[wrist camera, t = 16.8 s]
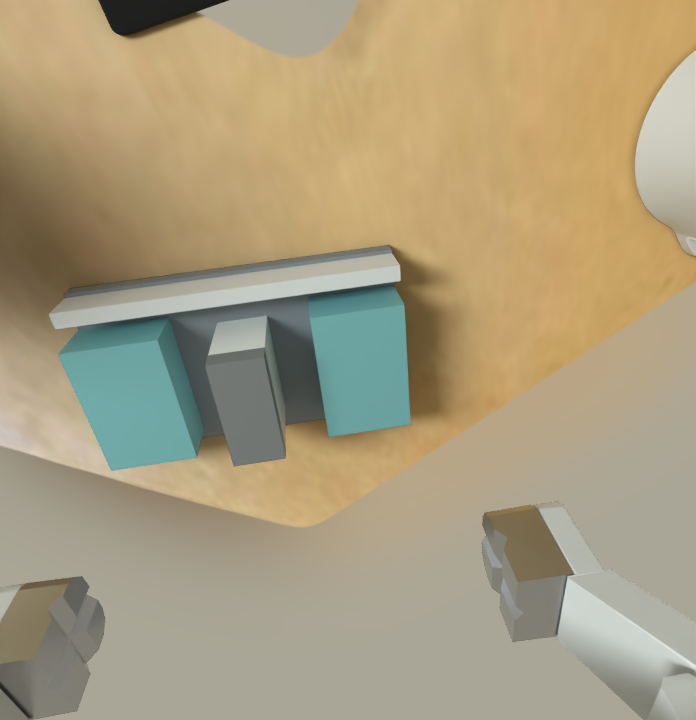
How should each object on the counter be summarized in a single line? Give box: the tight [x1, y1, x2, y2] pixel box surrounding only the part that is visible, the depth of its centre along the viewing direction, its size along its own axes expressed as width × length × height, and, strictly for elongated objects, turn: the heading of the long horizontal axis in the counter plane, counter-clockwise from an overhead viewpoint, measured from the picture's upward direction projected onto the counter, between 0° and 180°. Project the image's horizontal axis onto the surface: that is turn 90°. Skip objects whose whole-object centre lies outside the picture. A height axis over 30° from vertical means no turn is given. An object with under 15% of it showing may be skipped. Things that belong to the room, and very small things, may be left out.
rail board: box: [48, 245, 410, 471], centre depth 40 cm, size 25×15×5 cm, turn 96°
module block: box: [205, 316, 286, 466], centre depth 38 cm, size 4×9×7 cm, turn 6°
